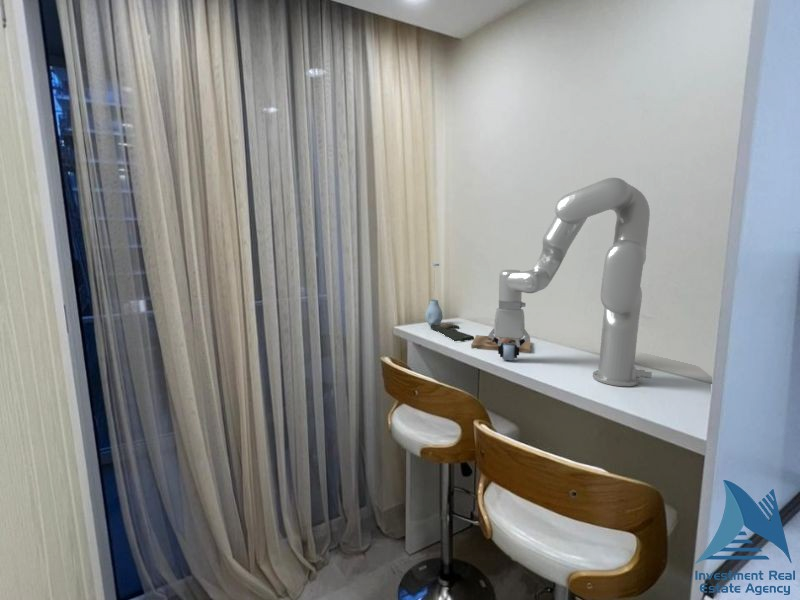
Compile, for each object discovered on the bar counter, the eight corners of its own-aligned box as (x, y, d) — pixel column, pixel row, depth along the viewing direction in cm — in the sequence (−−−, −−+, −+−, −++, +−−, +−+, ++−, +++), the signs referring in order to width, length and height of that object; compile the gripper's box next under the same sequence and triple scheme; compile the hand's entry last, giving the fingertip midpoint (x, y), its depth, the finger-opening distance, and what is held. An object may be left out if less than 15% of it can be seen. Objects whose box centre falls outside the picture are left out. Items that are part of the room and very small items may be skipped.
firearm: (487, 335, 177) (456, 338, 171) (486, 340, 177) (456, 344, 171) (452, 322, 203) (425, 324, 196) (452, 326, 203) (425, 329, 197)
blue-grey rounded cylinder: (515, 357, 148) (515, 343, 147) (514, 360, 144) (515, 346, 143) (502, 356, 149) (502, 342, 149) (501, 359, 145) (502, 345, 145)
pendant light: (435, 322, 209) (436, 263, 204) (445, 325, 202) (447, 264, 197) (422, 324, 205) (423, 263, 200) (431, 327, 198) (433, 264, 193)
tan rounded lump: (509, 344, 169) (510, 332, 168) (508, 348, 163) (509, 335, 163) (494, 343, 170) (495, 331, 170) (493, 346, 165) (494, 334, 164)
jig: (530, 342, 171) (530, 339, 171) (530, 353, 156) (530, 349, 156) (476, 338, 178) (476, 335, 178) (471, 348, 163) (471, 344, 162)
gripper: (535, 304, 145) (533, 355, 148) (486, 303, 150) (485, 352, 153) (535, 308, 138) (533, 361, 141) (484, 306, 143) (483, 358, 146)
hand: (508, 356), depth 147 cm, fingers closed on blue-grey rounded cylinder, 4 cm apart
